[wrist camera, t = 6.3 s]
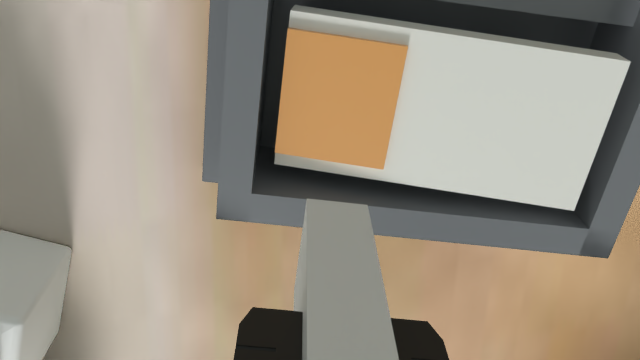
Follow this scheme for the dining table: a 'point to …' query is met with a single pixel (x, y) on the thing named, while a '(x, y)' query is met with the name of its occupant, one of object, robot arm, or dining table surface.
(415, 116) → the rocker
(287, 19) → the box
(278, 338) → the robot arm
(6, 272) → the medicine bottle
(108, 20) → the dining table surface
